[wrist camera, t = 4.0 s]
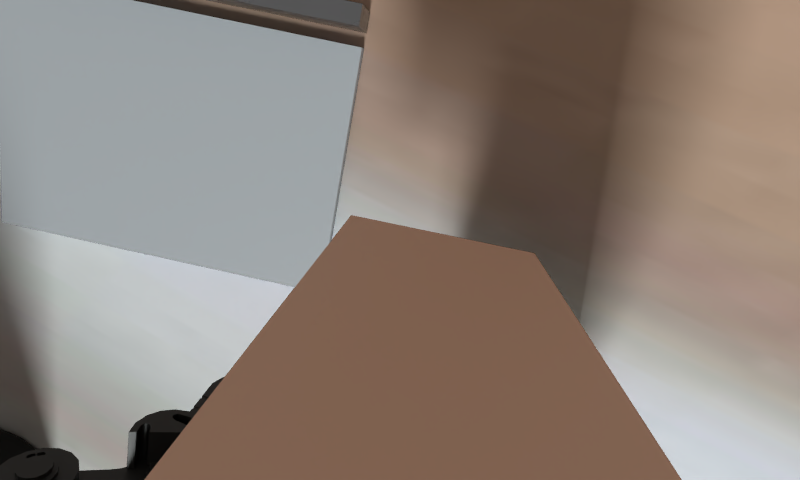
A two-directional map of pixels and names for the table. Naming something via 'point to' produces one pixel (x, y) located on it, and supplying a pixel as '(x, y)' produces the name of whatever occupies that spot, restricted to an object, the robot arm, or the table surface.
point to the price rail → (312, 11)
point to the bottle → (12, 446)
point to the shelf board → (173, 133)
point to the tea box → (418, 376)
